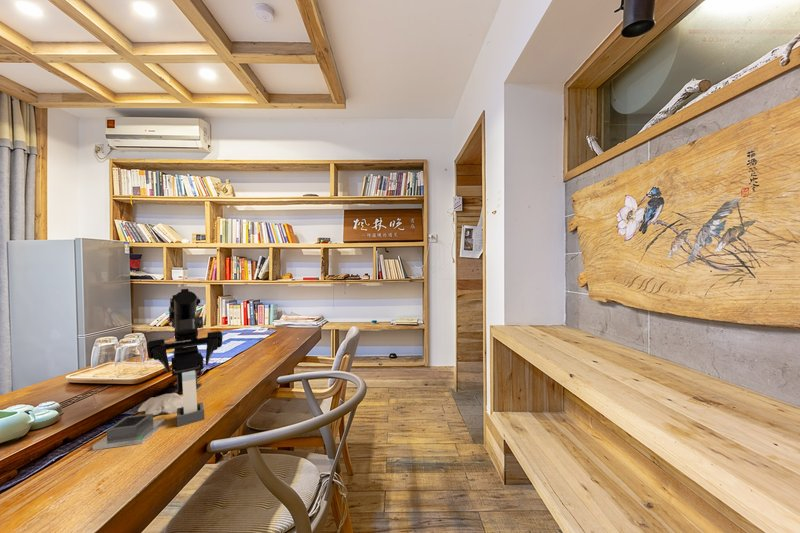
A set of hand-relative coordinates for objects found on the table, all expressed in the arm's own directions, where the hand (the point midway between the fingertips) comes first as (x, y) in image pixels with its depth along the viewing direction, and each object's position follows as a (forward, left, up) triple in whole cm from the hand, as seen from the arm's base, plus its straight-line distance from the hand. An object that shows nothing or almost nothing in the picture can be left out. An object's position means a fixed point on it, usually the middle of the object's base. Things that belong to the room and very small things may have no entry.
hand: (188, 368), depth 90 cm
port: (+10, -9, -12) cm, 19 cm away
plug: (+5, +2, -12) cm, 14 cm away
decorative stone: (-5, -7, -13) cm, 16 cm away
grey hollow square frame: (+5, +2, -12) cm, 14 cm away
